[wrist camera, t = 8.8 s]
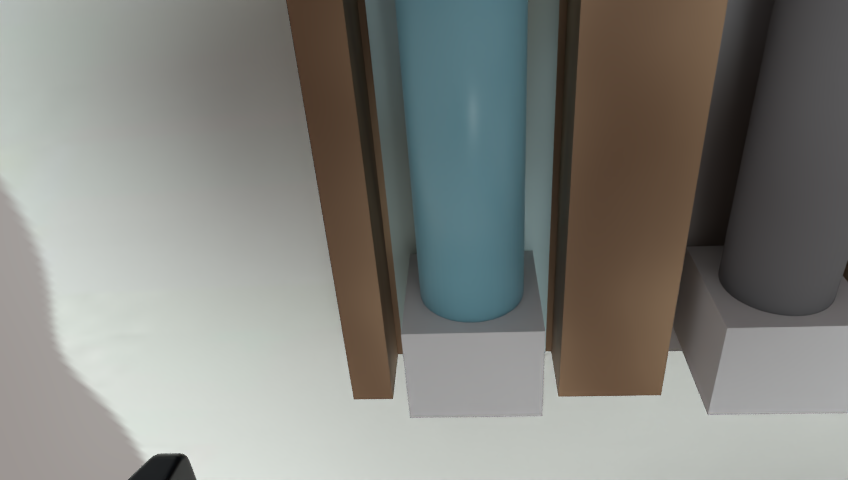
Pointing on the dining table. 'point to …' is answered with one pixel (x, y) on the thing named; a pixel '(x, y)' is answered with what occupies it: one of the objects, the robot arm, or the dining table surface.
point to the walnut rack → (546, 171)
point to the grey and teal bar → (469, 212)
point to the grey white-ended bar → (780, 236)
